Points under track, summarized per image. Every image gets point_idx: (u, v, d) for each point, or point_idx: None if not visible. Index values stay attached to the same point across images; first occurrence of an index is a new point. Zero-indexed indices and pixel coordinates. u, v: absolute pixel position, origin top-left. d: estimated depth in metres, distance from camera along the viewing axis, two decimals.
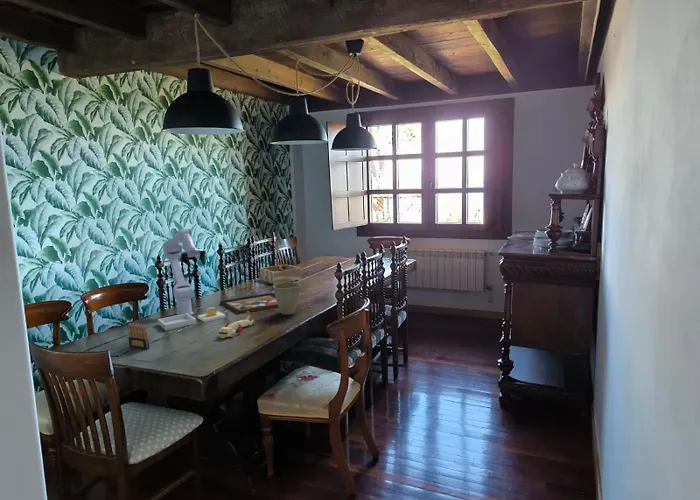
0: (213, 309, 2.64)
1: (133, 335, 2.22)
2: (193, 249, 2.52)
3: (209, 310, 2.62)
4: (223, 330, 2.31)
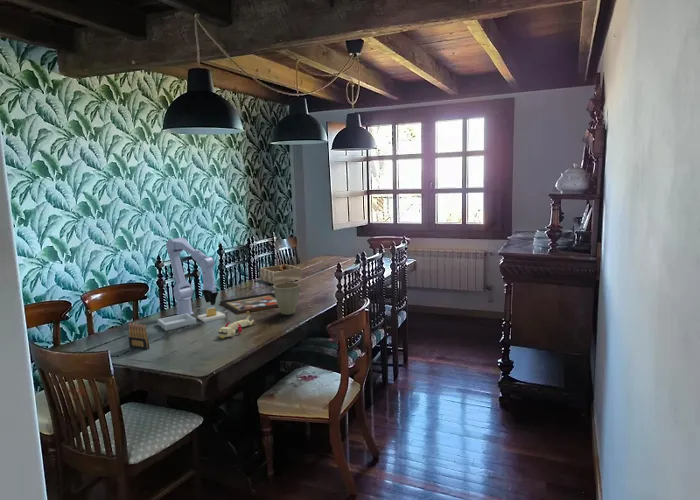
0: (213, 309, 2.64)
1: (133, 335, 2.22)
2: None
3: (209, 310, 2.62)
4: (223, 330, 2.31)
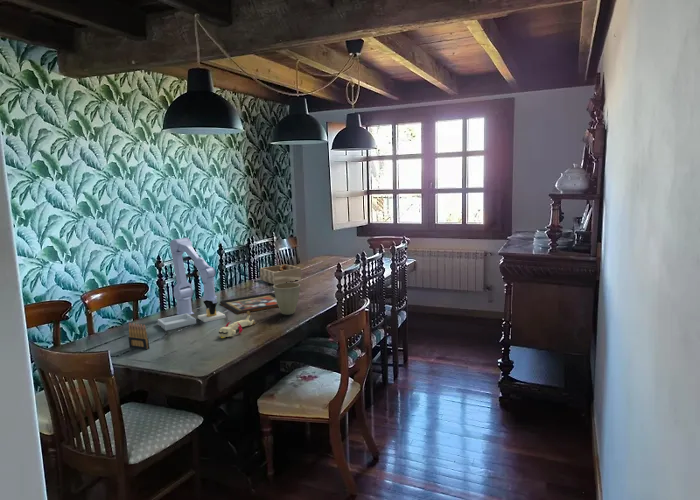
0: None
1: (133, 335, 2.22)
2: None
3: None
4: (223, 330, 2.31)
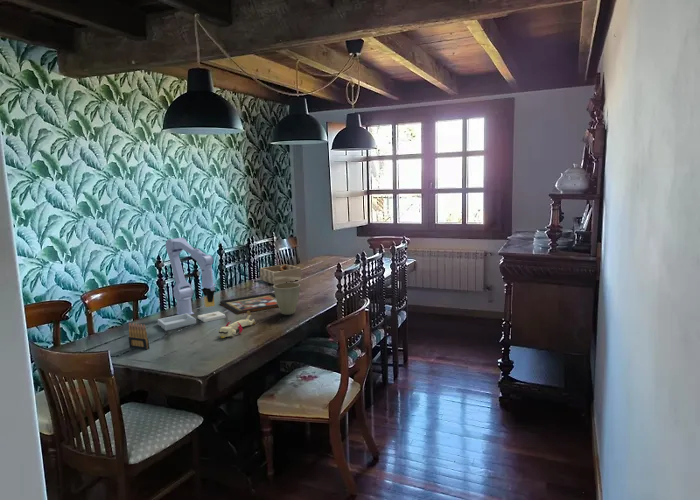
0: None
1: (133, 335, 2.22)
2: None
3: None
4: (223, 330, 2.31)
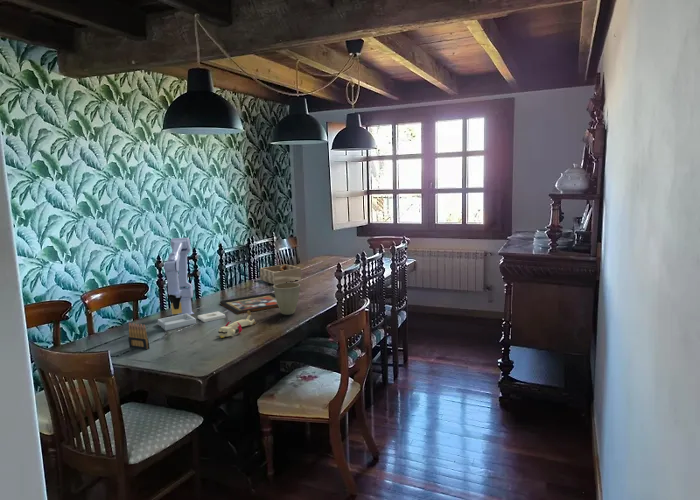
0: None
1: (133, 335, 2.22)
2: None
3: None
4: (223, 329, 2.32)
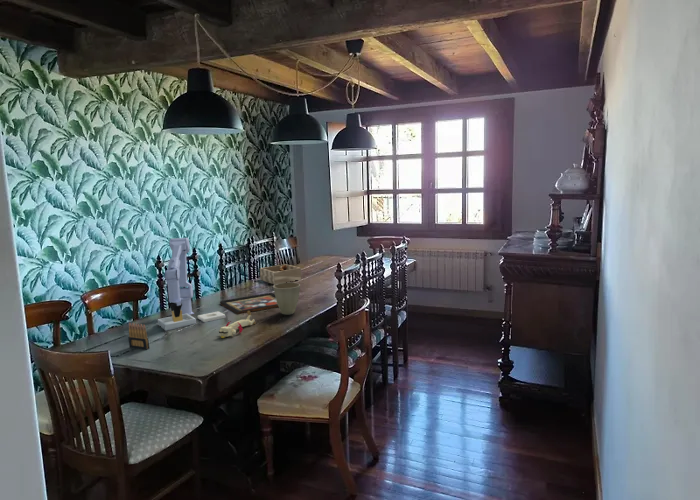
0: None
1: (133, 335, 2.22)
2: None
3: None
4: (223, 330, 2.32)
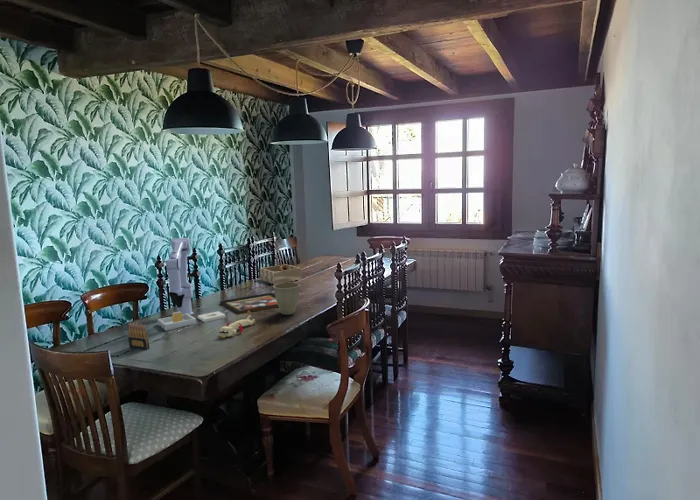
0: (179, 314, 2.56)
1: (133, 335, 2.22)
2: None
3: (175, 315, 2.54)
4: (224, 329, 2.32)
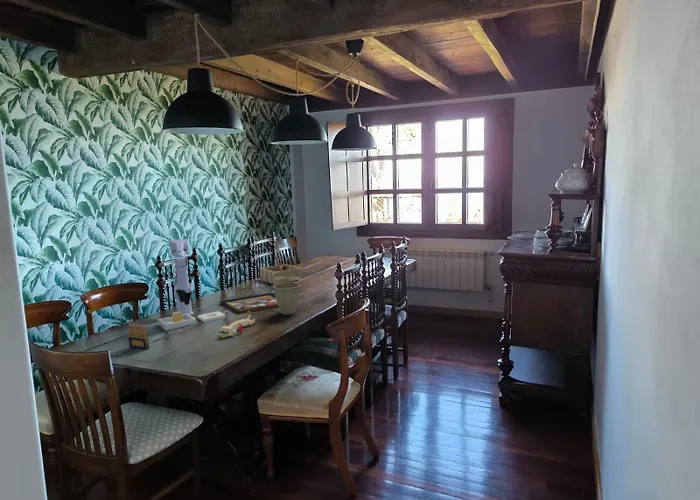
0: (179, 314, 2.56)
1: (133, 335, 2.22)
2: None
3: (175, 315, 2.54)
4: (224, 329, 2.32)
